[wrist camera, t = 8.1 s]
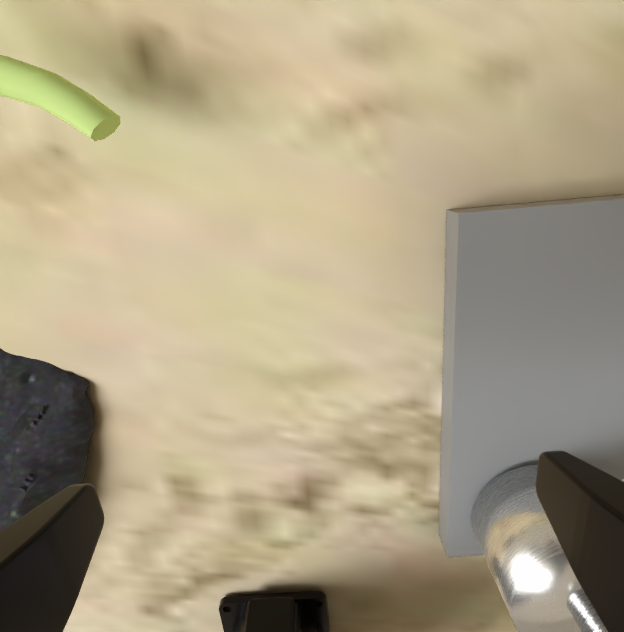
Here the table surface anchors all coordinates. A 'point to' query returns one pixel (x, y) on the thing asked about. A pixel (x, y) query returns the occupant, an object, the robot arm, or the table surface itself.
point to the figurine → (56, 97)
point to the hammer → (529, 558)
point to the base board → (529, 346)
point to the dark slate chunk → (40, 433)
